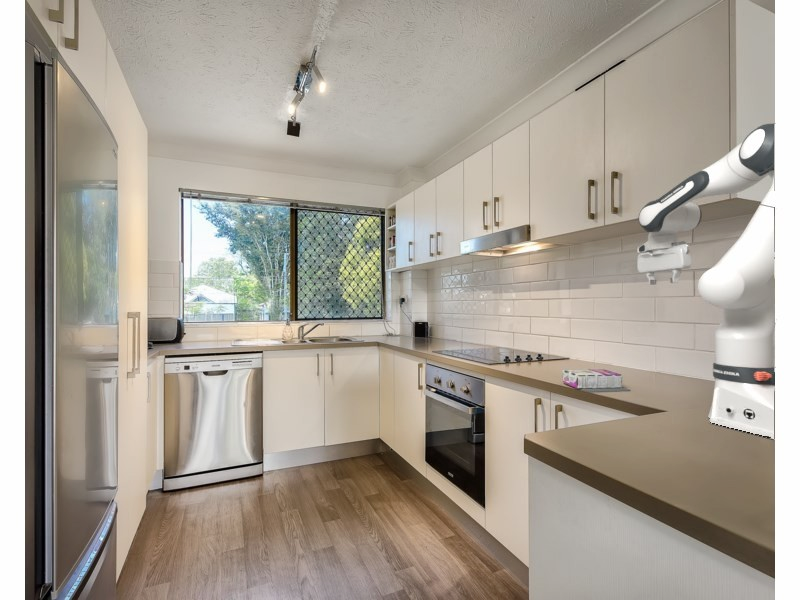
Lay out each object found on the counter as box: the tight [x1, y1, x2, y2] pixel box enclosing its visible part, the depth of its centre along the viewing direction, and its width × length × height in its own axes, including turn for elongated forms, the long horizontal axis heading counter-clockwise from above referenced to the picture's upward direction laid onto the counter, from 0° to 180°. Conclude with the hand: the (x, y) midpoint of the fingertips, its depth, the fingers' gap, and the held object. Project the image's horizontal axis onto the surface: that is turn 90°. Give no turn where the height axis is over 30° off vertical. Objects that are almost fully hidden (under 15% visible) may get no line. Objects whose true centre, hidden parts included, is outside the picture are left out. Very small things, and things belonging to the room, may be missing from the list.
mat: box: [565, 383, 631, 393], centre depth 141 cm, size 14×16×1 cm
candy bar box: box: [562, 369, 623, 389], centre depth 143 cm, size 11×5×16 cm
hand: (663, 283), depth 140 cm, fingers open, 8 cm apart
